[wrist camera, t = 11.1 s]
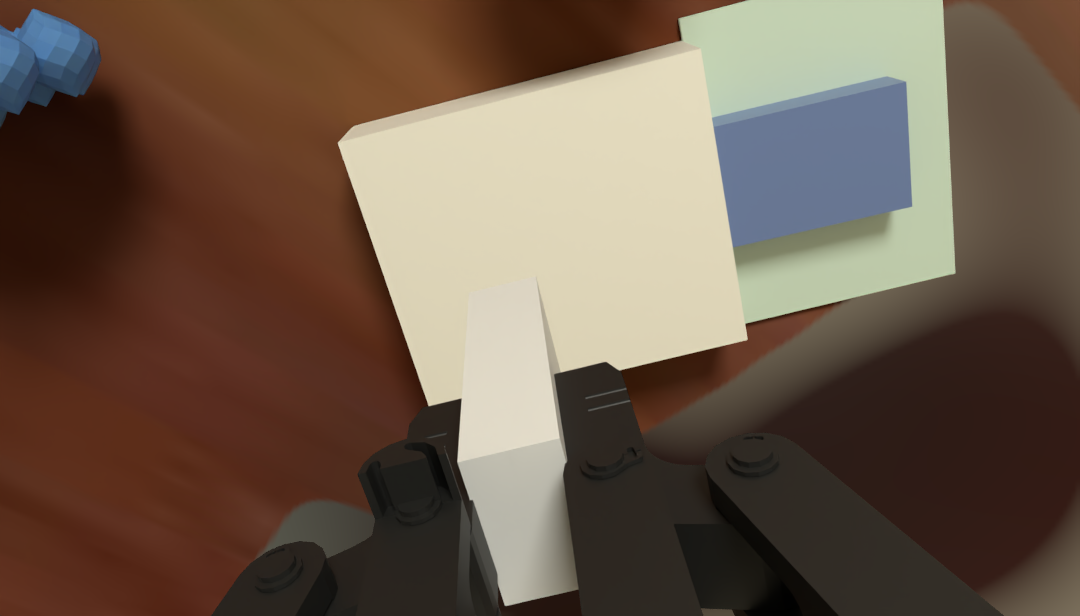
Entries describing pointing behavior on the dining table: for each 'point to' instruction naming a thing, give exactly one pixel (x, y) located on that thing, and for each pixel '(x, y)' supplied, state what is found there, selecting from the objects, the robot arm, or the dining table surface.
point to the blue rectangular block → (815, 160)
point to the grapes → (44, 62)
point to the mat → (819, 65)
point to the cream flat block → (557, 213)
